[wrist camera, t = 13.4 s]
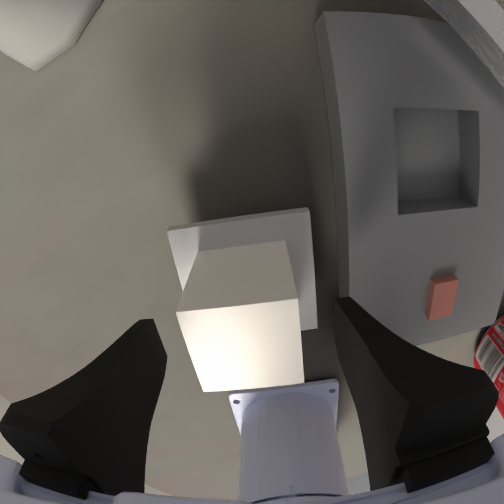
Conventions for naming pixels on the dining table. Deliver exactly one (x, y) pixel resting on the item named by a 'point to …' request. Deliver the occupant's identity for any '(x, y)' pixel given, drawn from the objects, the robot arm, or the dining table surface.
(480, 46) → the grey bar orange end
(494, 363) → the soda can
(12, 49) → the flask
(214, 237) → the plug
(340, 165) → the grey flat block
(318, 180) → the dining table surface
